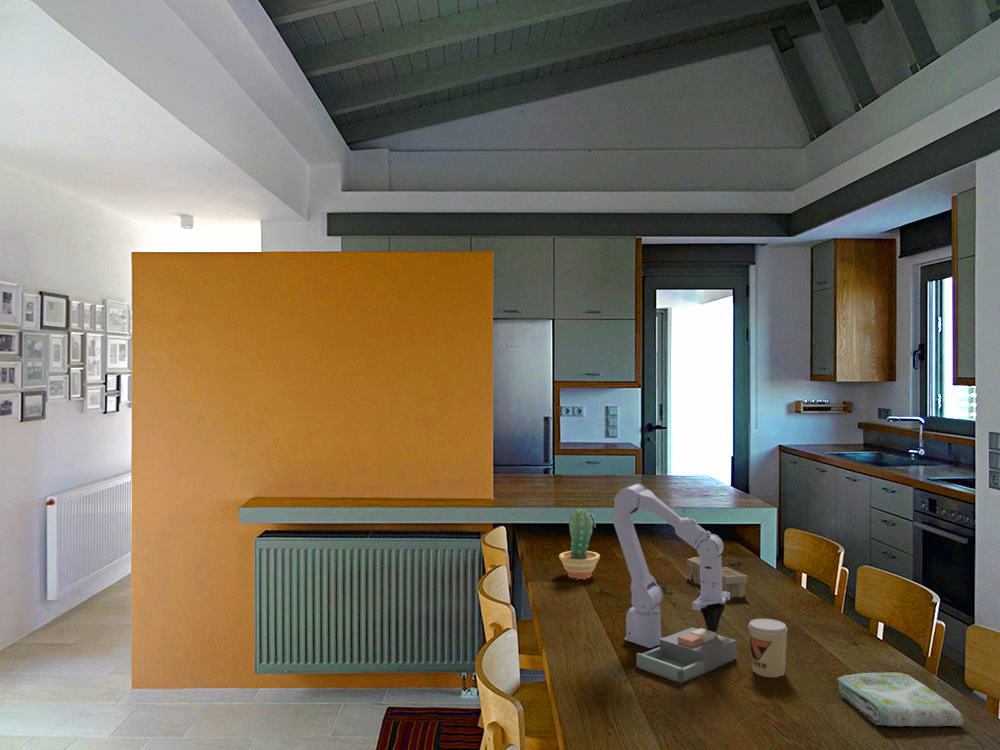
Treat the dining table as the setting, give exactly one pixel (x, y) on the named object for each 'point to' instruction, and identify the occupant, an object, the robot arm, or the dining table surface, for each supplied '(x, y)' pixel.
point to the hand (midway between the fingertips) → (712, 631)
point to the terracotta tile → (690, 639)
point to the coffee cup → (768, 647)
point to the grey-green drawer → (668, 666)
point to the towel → (897, 700)
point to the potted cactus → (580, 546)
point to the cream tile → (704, 634)
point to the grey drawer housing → (699, 650)
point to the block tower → (730, 578)
